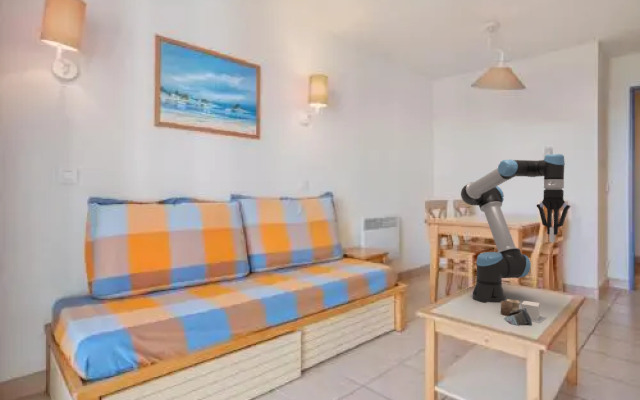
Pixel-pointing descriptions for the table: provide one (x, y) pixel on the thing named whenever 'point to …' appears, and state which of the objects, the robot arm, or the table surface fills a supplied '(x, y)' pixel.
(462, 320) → the table surface
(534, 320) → the mat
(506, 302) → the walnut cylinder
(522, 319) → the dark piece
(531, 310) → the plain block
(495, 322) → the table surface
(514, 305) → the beech cube
